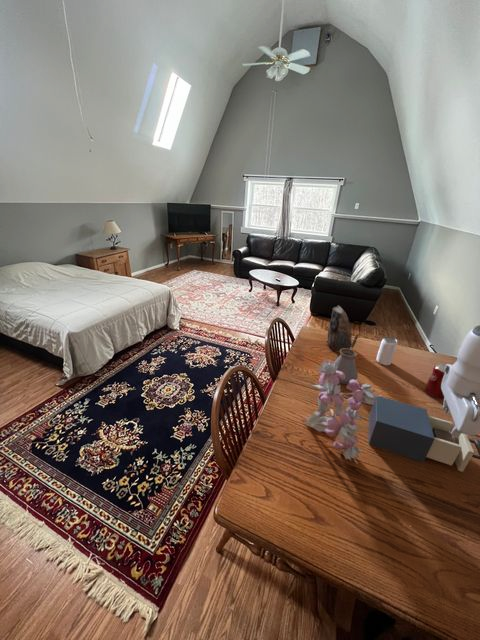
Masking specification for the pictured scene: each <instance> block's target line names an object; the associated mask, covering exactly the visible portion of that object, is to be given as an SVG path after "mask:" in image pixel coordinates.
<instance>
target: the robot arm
mask: <svg viewBox="0 0 480 640" xmlns="http://www.w3.org/2000/svg"><path fill="white" fill-rule="evenodd" d="M456 357H457V358H456V360H455V362H454V363H453V364H450V363H446V364H445V365H446V366H445V374H444V377H443V380H442V383H441V390H442V392H443V395H444V399H443V405H442V408H441V409H442V411H443V412H442V413H444V414H447V415H449V414H450V416H451V417H452V420H453V424H454V426H452V427H451V429H450V431H449V432H450V433H451V435H452V436H455V437H459V436H460V434H461V433H463V434H466V435H467V436H469V437H470V436H471V437H475V436H477V435H478V434H479V431H480V324H479V325H476V326H473V327H472V328H471V330H469V332H468V333H467V334H466V335H465V337H464V339H463V340H462V342H461V344H460V346H459V349H458V351H457V356H456Z"/></svg>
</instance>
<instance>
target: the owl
mask: <svg viewBox="0 0 480 640" xmlns="http://www.w3.org/2000/svg"><path fill="white" fill-rule="evenodd" d="M331 312H332V313H331V315H330V316H331V319H330V321H329V327H327V340H326V345H327V348H328V347H329V348H330V349H329V348H328V349H329V350H331V349H332V350H331V351H333V352H334V353H338V352H340V350H341V349H343V348H347V349H350V348H351V345H352V342H353V340H352V332H351V323H350V321H349V317H348V315H347V313H346V311H345V310H344V309H343V308H342V307H341V306H340V305H339V304H338V305H337V306H334V307H333V308H332V309H331ZM337 351H338V352H337Z"/></svg>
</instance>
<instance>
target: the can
mask: <svg viewBox="0 0 480 640" xmlns="http://www.w3.org/2000/svg"><path fill="white" fill-rule="evenodd" d="M397 348H398V340H397V339H396V338H395V337H392V336H384V337H383V338H382V340H381V342H380V345H379V348H378V351H377V355H376V358H375V360H376V362H377V363H378V362H379V363H378V364H380V365H382V364H383V366H390V365H392V362H393V360H394V357H395V355H396V354H395V353H396V351H397Z"/></svg>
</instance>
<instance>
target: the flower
mask: <svg viewBox="0 0 480 640" xmlns="http://www.w3.org/2000/svg"><path fill="white" fill-rule="evenodd" d="M334 362H335V361H334ZM337 368H338V364H337V362H335V364H334V366H333V362H332V360H327V361H326V357H324V358H323V361H321V363H320V365H318V366H317V370H318V372H319V373H320V376H319V377H318V383H319V384H311V385H310V386H309V389H311V388H313V389H315V390H319V391H320V393H319V394H318V395H317V407H318V408H317V410H316V411H314V412H313V413H312V414H311V415H310V416H309V417H307V418H306V419H303V418H302V419H301V422H302V423H304V425H305V424H306V425H308V426H310V427H311V428H312V429H314V430H315V431H317V432H319V433H320V432H323V433H325V434H326V435H327V436H329V437H331V438H333V437H336V436H337V438H338V439H339V441H340V442H339V441H338V440H335V441H334V442H333V447H334V449H335V450H337V451H341V450H342V451H343V452H342V455H343V457H344V459H345V460H346V461H348V460H350V462H352V459H353V460H354V461H355V463H356V464H359V463H358V461H357V459H356V457H359V455H360V454H362V452H361V449H360V447H358V446H357V445H356V444H358V435H357V433H356V432H358V433H359V432H360V429H359V427H358V424H357V423H356V421H359V420H360V419H361V418H362V415H360V411H359V409H361V406H363V404H367V405H370V406H372V405H373V404H374V403H375V402H376V399H375V397H380V396H381V397H382V394H380V395H377V394H375V393H374V392H376V389H375V388H374V389H371V388H373V387H374V385H370V384H368V383H364V384H360V382H359V381H358V379H356V380H353V379H352V380H350V383H349V384H346V389H347V390H349V391H352V392H341V391H342V390H341V384H340V383H339V378H338V377H337V376H339V377H341V378H342V379H343V380H344V379H345V374H344V373H343V372H341V371H338V370H337ZM340 392H341V393H340ZM348 395H351V397H349V398H347V399H346V402H347V406H346V407H344V406H345V405H344V404H343V403H344V402H345V399H344V396H348ZM374 401H375V402H374ZM332 403H333V404H334V409H335V412H334V410H333V409H331V405H332ZM344 409H345V411H346V412H345V411H344ZM328 411H330V414H331V416H330V415H328V414H326V413H327V412H328ZM338 417H339V420H340V421H339V420H338ZM362 455H363V454H362Z"/></svg>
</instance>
